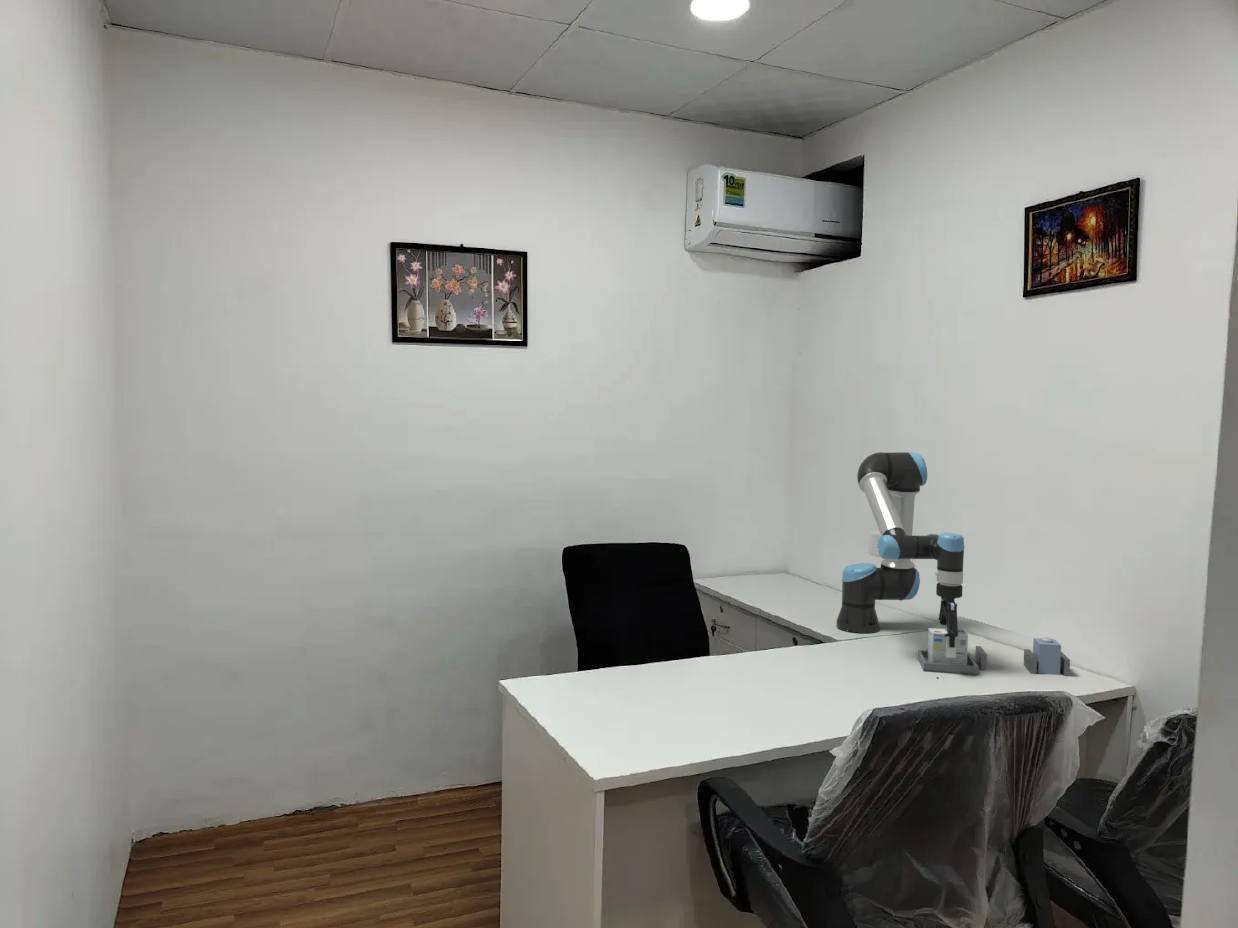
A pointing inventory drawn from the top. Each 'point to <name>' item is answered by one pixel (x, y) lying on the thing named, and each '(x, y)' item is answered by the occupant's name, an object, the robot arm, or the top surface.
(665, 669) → the top surface
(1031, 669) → the rack
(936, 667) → the tray
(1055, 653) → the cartridge
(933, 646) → the light bulb box
